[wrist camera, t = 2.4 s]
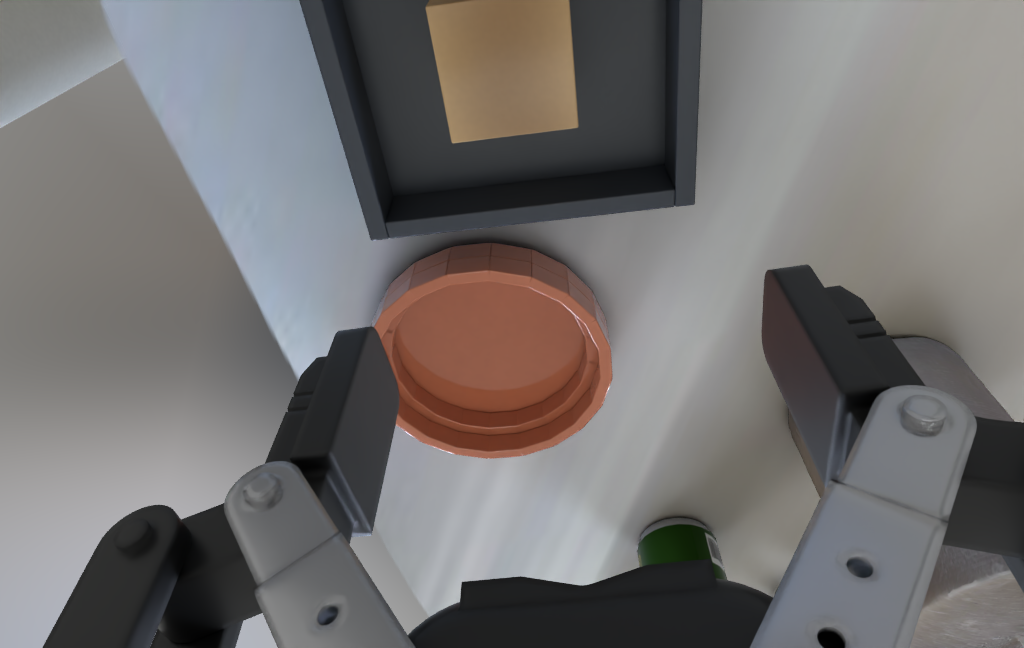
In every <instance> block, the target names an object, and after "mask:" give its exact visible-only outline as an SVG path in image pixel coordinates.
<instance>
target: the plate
mask: <svg viewBox="0 0 1024 648" xmlns="http://www.w3.org/2000/svg"><path fill="white" fill-rule="evenodd" d="M371 326H372V327H374V328H375V329H376V330H377V332H378V334H379V337H380V339H381V342H382V344H383V347H384V349H385V352H386V354H387V357H388V360H389V362H390V365H391V367H392V370H393V372H394V375H395V378H396V380H397V384H398V389H399V410H398V415H397V420H396V424H395V425H397V426H398V427H400V428H401V429H403V430H404V431H406V432H407V433H409V434H410V435H411V436H413V437H414V438H416V439H417V440H419V441H420V442H422V443H425V444H427V445H430V446H433V447H436V448H438V449H441V450H444V451H446V452H449V453H452V454H456V455H463V456H471V457H478V458H486V459H488V458H489V459H492V458H504V457H517V456H522V455H523V456H524V455H528V454H531V453H534V452H537V451H540V450H544V449H547V448H550V447H553V446H554V445H557V444H559V443H560V442H562V441H564V440H565V439H567V438H568V437H570V436H572V435H573V434H575V433H576V432H578V431H580V430H581V429H582V428H583V427H584V426H585V425H586V424H587V423H588V422H589V420H590V419H591V418H592V417H593V416H594V415H595V414H596V412H597V411H598V410H599V409H600V408H601V406H602V405H603V402H604V400H605V397H606V394H607V392H608V389H609V386H610V383H611V381H612V361H611V347H610V341H609V335H608V329H607V323H606V319H605V316H604V314H603V312H602V310H601V308H600V306H599V304H598V302H597V300H596V298H595V296H594V294H593V292H592V291H591V289H590V288H589V287H588V286H587V285H586V284H585V283H583V282H582V281H581V280H580V279H579V278H578V277H577V276H576V275H575V274H574V273H573V272H572V271H571V270H570V269H569V268H568V267H566V265H564V264H562V263H560V262H558V261H555V260H553V259H551V258H549V257H547V256H545V255H543V254H541V253H539V252H537V251H535V250H533V249H527V248H521V247H515V246H509V245H503V244H497V243H490V242H489V243H480V244H471V245H462V246H453V247H451V248H447V249H445V250H443V251H440V252H438V253H435V254H433V255H431V256H428V257H426V258H424V259H421V260H419V261H417V262H414V263H413V264H412V265H411V266H410V267H409V268H408V269H406V270H405V271H404V272H403V273H402V274H401V275H400V276H399V277H397V278H396V279H395V280H394V281H393V282H392V283H391V284H390V285H389V287H388V288H387V290H386V292H385V294H384V296H383V298H382V300H381V302H380V304H379V306H378V308H377V310H376V312H375V315H374V319H373V322H372V325H371Z"/></svg>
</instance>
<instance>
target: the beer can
mask: <svg viewBox="0 0 1024 648" xmlns="http://www.w3.org/2000/svg"><path fill="white" fill-rule="evenodd" d="M637 552H638V558H639V565H640V567H642V566H645V565H650V564H661V563H671V562H682V561H693V560H703V559H711V561H712V565H713V569H714V573H715V577H716V578H717V579H723V580H727V577H726V574H725V570H724V567H723V563H722V559H721V556H720V552H719V548H718V545H717V541H716V538H715V537H714V536H713V534H712V533H711V532H710V531H709V530H708V529H707V527H706V526H705V525H704V524H702V523H700V522H699V521H697V520H693V519H689V518H670V519H664V520H662V521H659V522H656V523H654V524H653V525H651V526H650V527H648V528H647V529H646V530H645V531H644V533H643V534H642V536H641V539H640V542H639V546H638V550H637Z"/></svg>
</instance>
